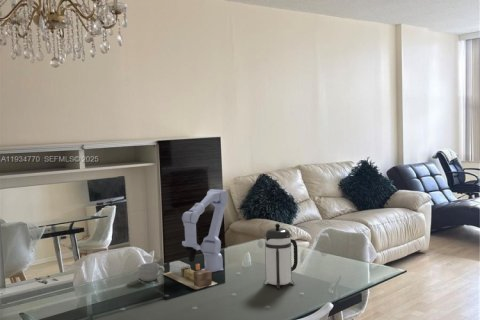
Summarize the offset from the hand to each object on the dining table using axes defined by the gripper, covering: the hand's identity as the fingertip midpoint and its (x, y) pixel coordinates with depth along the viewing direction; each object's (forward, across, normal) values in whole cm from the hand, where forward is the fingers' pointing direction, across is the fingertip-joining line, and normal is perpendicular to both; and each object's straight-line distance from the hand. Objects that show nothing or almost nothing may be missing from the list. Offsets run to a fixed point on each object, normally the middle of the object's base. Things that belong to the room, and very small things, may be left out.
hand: (191, 261), depth 246 cm
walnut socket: (+8, +13, -2) cm, 15 cm away
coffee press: (+10, +36, +28) cm, 46 cm away
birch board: (+9, 0, -2) cm, 9 cm away
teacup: (+9, -12, -17) cm, 23 cm away
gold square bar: (+7, +4, -2) cm, 8 cm away
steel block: (+9, -9, -2) cm, 13 cm away
